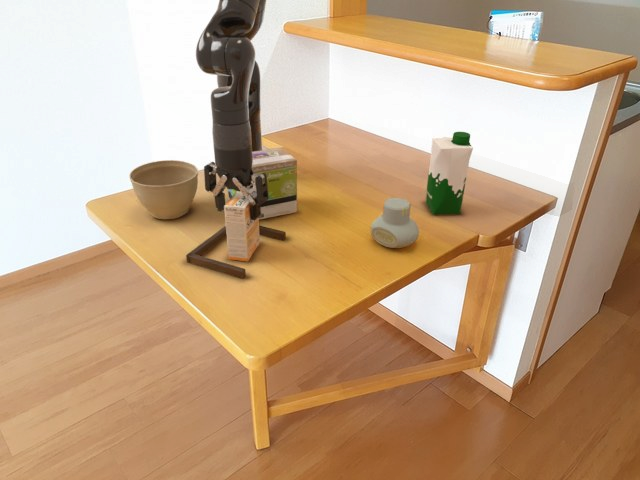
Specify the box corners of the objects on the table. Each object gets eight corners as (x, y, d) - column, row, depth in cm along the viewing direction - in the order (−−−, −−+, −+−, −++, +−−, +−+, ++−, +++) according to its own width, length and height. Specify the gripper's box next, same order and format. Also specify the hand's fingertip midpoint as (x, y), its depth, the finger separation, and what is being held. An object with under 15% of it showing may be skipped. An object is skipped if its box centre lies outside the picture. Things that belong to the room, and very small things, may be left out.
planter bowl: (160, 233, 121) (153, 191, 115) (124, 212, 130) (116, 172, 124) (215, 211, 131) (211, 171, 125) (178, 192, 140) (173, 155, 135)
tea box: (242, 225, 124) (238, 168, 117) (229, 208, 132) (224, 154, 125) (298, 212, 130) (297, 158, 123) (282, 197, 138) (280, 145, 131)
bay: (186, 262, 110) (185, 255, 109) (234, 225, 124) (234, 218, 124) (242, 279, 105) (242, 271, 104) (286, 238, 119) (285, 231, 118)
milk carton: (464, 215, 130) (477, 140, 120) (430, 216, 129) (440, 140, 119) (454, 200, 138) (465, 128, 127) (421, 201, 137) (429, 128, 127)
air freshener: (364, 240, 119) (366, 201, 114) (384, 227, 124) (387, 190, 119) (403, 257, 113) (407, 217, 108) (423, 243, 118) (428, 204, 113)
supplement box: (249, 262, 110) (245, 208, 104) (228, 259, 111) (222, 205, 104) (261, 243, 117) (258, 191, 111) (241, 241, 118) (237, 189, 111)
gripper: (273, 142, 102) (275, 214, 110) (214, 130, 107) (220, 200, 115) (252, 154, 96) (257, 229, 104) (191, 141, 101) (200, 214, 109)
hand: (238, 214), depth 110 cm, fingers open, 8 cm apart
